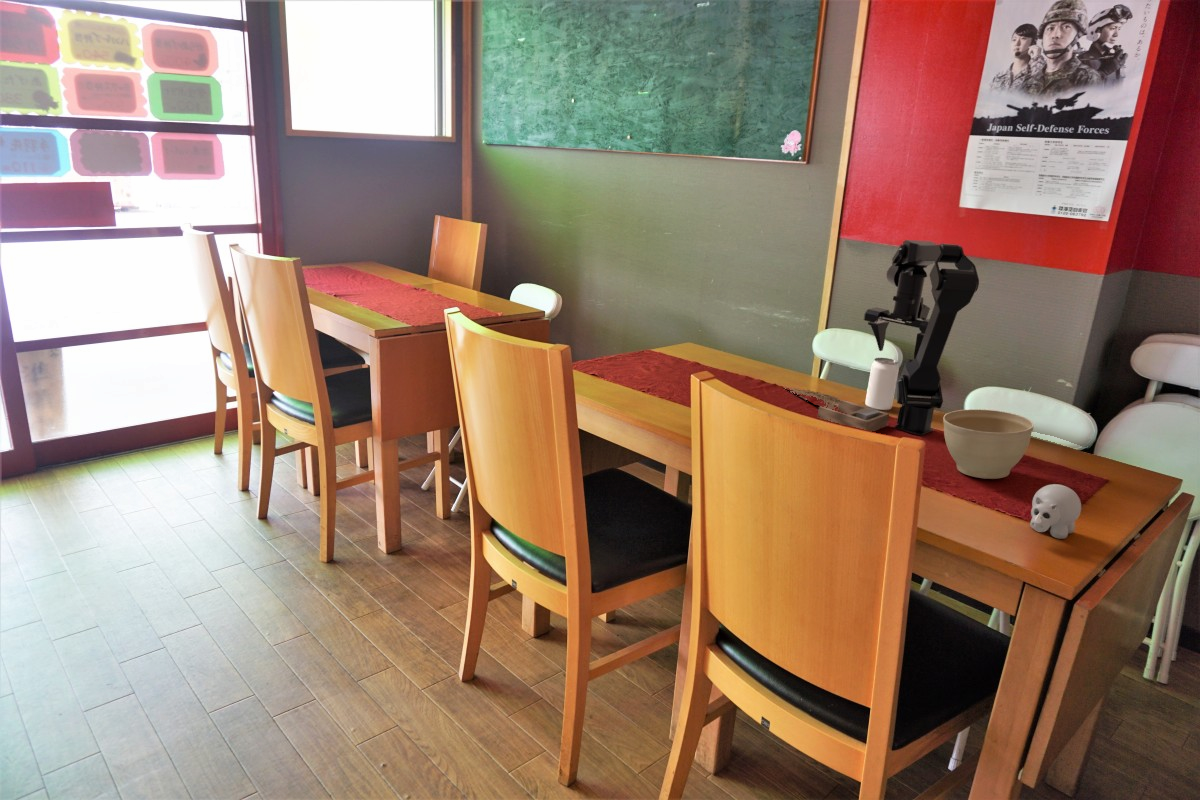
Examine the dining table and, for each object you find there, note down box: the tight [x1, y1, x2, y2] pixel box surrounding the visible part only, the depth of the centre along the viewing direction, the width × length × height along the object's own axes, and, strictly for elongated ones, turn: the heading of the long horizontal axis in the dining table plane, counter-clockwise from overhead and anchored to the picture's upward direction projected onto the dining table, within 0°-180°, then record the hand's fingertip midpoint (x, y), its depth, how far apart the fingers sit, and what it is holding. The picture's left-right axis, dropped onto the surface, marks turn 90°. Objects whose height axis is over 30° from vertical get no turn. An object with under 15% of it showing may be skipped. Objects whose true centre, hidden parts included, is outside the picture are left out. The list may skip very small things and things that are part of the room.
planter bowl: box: [942, 408, 1035, 480], centre depth 157 cm, size 16×16×11 cm
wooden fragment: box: [784, 387, 841, 410], centre depth 199 cm, size 26×11×1 cm, turn 32°
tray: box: [816, 399, 890, 432], centre depth 184 cm, size 12×10×3 cm
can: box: [864, 357, 900, 411], centre depth 196 cm, size 6×6×12 cm
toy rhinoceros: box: [1029, 483, 1082, 540], centre depth 132 cm, size 7×12×8 cm, turn 130°
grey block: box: [856, 408, 879, 420], centre depth 182 cm, size 4×7×4 cm, turn 133°
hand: (897, 354), depth 195 cm, fingers open, 9 cm apart
